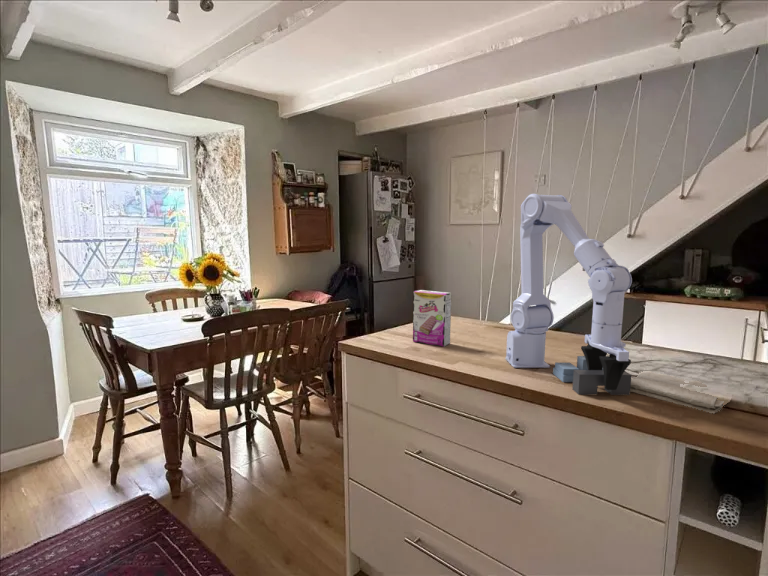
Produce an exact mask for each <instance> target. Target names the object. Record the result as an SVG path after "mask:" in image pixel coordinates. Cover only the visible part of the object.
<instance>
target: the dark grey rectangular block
mask: <svg viewBox="0 0 768 576" xmlns="http://www.w3.org/2000/svg"><path fill="white" fill-rule="evenodd" d="M631 378H632V374H631V373H629V372H628V371H626V370H625V371H624V373H623V375H622V377H621V379H620V382H619V384H618V387H617V389H616V390H607V389H605V385H604V371H603V370H574V372H573V382H572V390H573V392H575V393H576V394H577V395H579V396H580V395H583V396H586V395H589V396H592V395H593V396H597V395H598V387H604V388H603V390H604V391H605V392H606V393H608V394H610V396H630V395H631V391H630V387H631Z"/></svg>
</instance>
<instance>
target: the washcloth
mask: <svg viewBox="0 0 768 576" xmlns="http://www.w3.org/2000/svg"><path fill="white" fill-rule="evenodd" d="M640 372H641V373H640ZM640 372H638V373H639V374H638V373H637V374H638V376H637V377H638V378H636V377H635V376H634V377H632V378H633V379H631V387H630V393H631V392H632V393H635V394H638V395H639V394H640V395H641V396H647V397H650V398H654V399H658V400H660V401H661V400H662V401H665V402H669V403H672V402H673V404H675V405H678V406H679V405H680V406H683V405H684V406H683V407H687V406H688V407H687V408H691V407H692V408H691V409H694V408H696V409H695V410H697V409H698V411H701V410H703V411H702V412H704V411H706V412H705V413H708V412H709V413H708V414H712V413H713V414H712V415H715V413H719V412H721V411H722V410H723V409H722V407H723V406H724V405H723V403H724V401H720V400H717V399H718V398H717V397H714V396H712V395H709V394H705V393H700V392H697V391H690V390H689V389H686V388H683V387H680V384H683V385H684V384H690V385H695V386H698V387H699V386H700V387H707V384H704V383H703V382H702V381H700V380H691V379H690V380H691V381H689V383H685V382H684V381H685V380H688V379H686V378H682V377H677V376H675V375H670V374H666V373H659V372H654V371H652V370H643V372H642V371H640ZM684 379H685V380H684ZM702 383H703V384H702ZM724 407H725V406H724ZM721 409H722V410H721ZM720 410H721V411H720ZM718 411H719V412H718Z"/></svg>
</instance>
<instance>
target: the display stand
mask: <svg viewBox="0 0 768 576" xmlns="http://www.w3.org/2000/svg"><path fill="white" fill-rule="evenodd" d="M576 359H577V361H576V366H575V365H574V364H572V362H557V361H556V362H555V363H554V367H553V368H552V374H553V375H554V376H555V377H556V378H557V379H559V381H561V382H562V383H573V372H574V370H588V367H587V362H586V359H585V356H584V355H577V357H576ZM602 370H603V368H602Z"/></svg>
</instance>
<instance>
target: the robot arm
mask: <svg viewBox="0 0 768 576" xmlns="http://www.w3.org/2000/svg"><path fill="white" fill-rule="evenodd" d="M572 207H573V206H572V204H571V203H570V202H569V201H568V199H567V197H566V196H564V195H561V194H556V195H555V194H552V195H551V194H538V193H530V194H529V195H527V196H526V198H525V199H524V200H523V201H522V203H521V204H520V225H519V226H520V227H519V229H520V230H519V236H520V237H519V238H520V241H519V243H520V282H521V283H520V285H521V286H520V288H521V292H520V293H521V294H520V295H519V296H518V297H517V298H516V299H514V301H513V302H512V310H511V313H510V321H511V324H512V326H513V328H514V330H510V331H507V336H506V350H505V351H506V353H505V354H506V355H505V360H506V361H507V362H508V363H509V365H511V367H513V368H521V369H522V368H523V369H524V368H525V369H526V368H527V369H528V368H531V369H532V368H533V369H534V368H539V369H540V368H543V369H544V368H545V369H546V368H551V365H550V364H548V363H547V361H545V359H546V357H545V356H546V354H545V353H546V338H547V337H546V336H547V332H549V328H550V327H551V326H552V325H553V322H554V319H555V317H554V313H553V310H552V309H553V308H552V306H551V300H550V299H549V298H548V297H547V296H546V295H545V294H544V258H543V257H544V256H543V254H544V251H543V250H544V249H543V234H544V233H545V232H546V231H547V230H548V229H549V228H550V227H552V226H554V225H556V227H557V228H558V229H559V230H560V231H561V232H562V234H563V235H564V236H565V237H566V239H567V240H568V241H569V243H571V244H572V246H573V247H574V251H573V256H574V257H575V259H576V260H577V261H578V263H579V264H580V266H581V267H582V268H583V270H584V272H585V273H586V274H587V276H588V277H589V278H588V279H587V283H588V286H589V289H590V291H591V299H592V301H593V304H592V316H591V317H592V318H591V330H590V331H591V332H590V334H585V335H584V344H587V345H580V350H581V351H582V353H583V356H585V359H586V362H587V367H588V370H602V368H603V371H604V385H605V389H607V390H616V389H617V387H618V384H619V382H620V379H621V377H622V375H623V373H624V371H626V370H627V368H628V367H629V366H630V365H631V363H632V360H631V359H629V358H630V351H628V350H626V349H625V347H626V344H627V343H625V342H623V341H622V330H623V329H622V328H623V317H624V306H625V305H624V303H625V294H626V293H625V292H627V291H628V290H630V288H631V286H632V283H633V278H632V274H631V272H630V271H629V268H627V267H626V266H623V265H619V264H618V263H617V262H616V260H615V259H613V258H612V257H611V255H610V254H609V253H608V252H607V250H606V249H605V244H604V243H603V242H602V241H599V240H598V239H595V238H590V237H589V235H587V233H586V231H585V230H584V228H583V226H582V225H581V223H580V221H579V220H578V219H577V217H576V216H575V214H574V212H573V211H572ZM607 355H609V356H607Z"/></svg>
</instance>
